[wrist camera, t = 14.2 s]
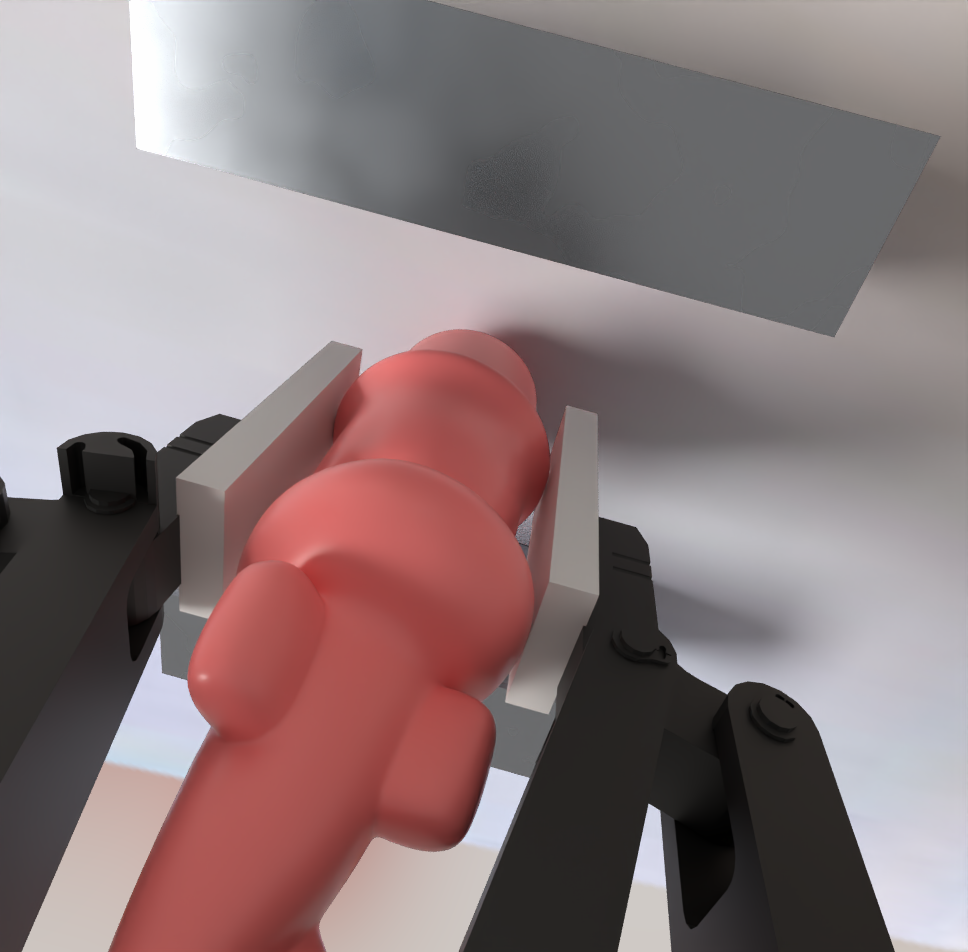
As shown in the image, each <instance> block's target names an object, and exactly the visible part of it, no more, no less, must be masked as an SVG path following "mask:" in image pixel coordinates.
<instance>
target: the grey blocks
mask: <svg viewBox="0 0 968 952" xmlns="http://www.w3.org/2000/svg"><path fill="white" fill-rule="evenodd" d="M129 6H130V27H131V47H132V68H133V88H134V109H135V129H136V148H137V149H141V150H145V151H148V152H152V153H156V154H159V155H163V156H167V157H171V158H174V159H178V160H182V161H185V162H189V163H193V164H196V165H200V166H204V167H207V168H211V169H215V170H219V171H222V172H226V173H230V174H233V175H237V176H241V177H244V178H248V179H252V180H255V181H259V182H263V183H267V184H270V185H274V186H278V187H281V188H285V189H289V190H292V191H296V192H300V193H303V194H307V195H311V196H314V197H318V198H322V199H326V200H329V201H333V202H337V203H340V204H344V205H348V206H351V207H355V208H359V209H362V210H366V211H370V212H374V213H377V214H381V215H385V216H388V217H392V218H396V219H399V220H403V221H407V222H410V223H414V224H418V225H421V226H425V227H429V228H433V229H436V230H440V231H444V232H447V233H451V234H455V235H458V236H462V237H466V238H469V239H473V240H477V241H481V242H484V243H488V244H492V245H495V246H499V247H503V248H506V249H510V250H514V251H517V252H521V253H525V254H529V255H532V256H536V257H540V258H543V259H547V260H551V261H554V262H558V263H562V264H565V265H569V266H573V267H576V268H580V269H584V270H588V271H591V272H595V273H599V274H602V275H606V276H610V277H613V278H617V279H621V280H624V281H628V282H632V283H636V284H639V285H643V286H647V287H650V288H654V289H658V290H661V291H665V292H669V293H672V294H676V295H680V296H683V297H687V298H691V299H695V300H698V301H702V302H706V303H709V304H713V305H717V306H720V307H724V308H728V309H731V310H735V311H739V312H743V313H746V314H750V315H754V316H757V317H761V318H765V319H768V320H772V321H776V322H779V323H783V324H787V325H791V326H794V327H798V328H802V329H805V330H809V331H813V332H816V333H820V334H824V335H827V336H831V337H835V335H836V333H837V331H838V329H839V327H840V325H841V323H842V322H843V320H844V318H845V316H846V314H847V312H848V310H849V308H850V306H851V305H852V303H853V301H854V299H855V297H856V295H857V293H858V291H859V289H860V288H861V286H862V284H863V282H864V280H865V278H866V276H867V274H868V273H869V271H870V269H871V267H872V265H873V263H874V261H875V259H876V257H877V256H878V254H879V252H880V250H881V248H882V246H883V244H884V242H885V240H886V239H887V237H888V235H889V233H890V231H891V229H892V227H893V225H894V223H895V222H896V220H897V218H898V216H899V214H900V212H901V210H902V208H903V206H904V205H905V203H906V201H907V199H908V197H909V195H910V193H911V191H912V190H913V188H914V186H915V184H916V182H917V180H918V178H919V176H920V174H921V173H922V171H923V169H924V167H925V165H926V163H927V161H928V159H929V157H930V156H931V154H932V152H933V150H934V148H935V146H936V144H937V142H938V140H939V139H940V137H941V136H937V135H934V134H930V133H926V132H922V131H919V130H915V129H911V128H907V127H903V126H900V125H896V124H892V123H888V122H885V121H881V120H877V119H873V118H869V117H866V116H862V115H858V114H854V113H851V112H847V111H843V110H839V109H836V108H832V107H828V106H824V105H820V104H817V103H813V102H809V101H805V100H802V99H798V98H794V97H790V96H786V95H783V94H779V93H775V92H771V91H768V90H764V89H760V88H756V87H752V86H749V85H745V84H741V83H737V82H734V81H730V80H726V79H722V78H718V77H715V76H711V75H707V74H703V73H700V72H696V71H692V70H688V69H685V68H681V67H677V66H673V65H669V64H666V63H662V62H658V61H654V60H651V59H647V58H643V57H639V56H635V55H632V54H628V53H624V52H620V51H617V50H613V49H609V48H605V47H601V46H598V45H594V44H590V43H586V42H583V41H579V40H575V39H571V38H568V37H564V36H560V35H556V34H552V33H549V32H545V31H541V30H537V29H534V28H530V27H526V26H522V25H518V24H515V23H511V22H507V21H503V20H500V19H496V18H492V17H488V16H484V15H481V14H477V13H473V12H469V11H466V10H462V9H458V8H454V7H451V6H447V5H443V4H439V3H435V2H432V1H428V0H129ZM519 545H520V546H521V548H522V550H523V553H524V555H525V557H526V560H527V555H528V549H529V546H526V545H522V544H519ZM207 620H208V619H207V618H203V617H200V616H196V615H193V614H189V613H186V612H182V611H180V610H179V587H178V588H177V589H176V590H175V591H174V592H173V594H172V595H171V596H170V597H169V598H168V599H167V601H166V602H165V603H164V621H163V627H162V629H161V631H160V639H161V660H162V673H164V674H167V675H171V676H174V677H178V678H181V679H185V680H187V675H188V667H189V663H190V659H191V656H192V653H193V650H194V647H195V645H196V643H197V640H198V638H199V636H200V634H201V632H202V630H203V628H204V626H205V624H206V622H207ZM508 680H509V674H508V676H507V677H506V678H505V680H504V681H503V682H502V683H501V684H500V685H499V686H498V688H497V689H496V690H495V691H494V692H493V693H492V694H490V695H489V696H488V697H487V698H486V699H485V700H484V701H482V703H483V704H484V705H485V706H486V707H487V708H488V709H489V710H490V712H491V713H492V715H493V718H494V721H495V725H496V742H495V748H494V753H493V758H492V762H491V765H490V767H494V768H497V769H501V770H504V771H508V772H511V773H515V774H518V775H522V776H525V777H529V778H530V776H531V774H532V771H533V769H534V766H535V764H536V763H535V762H536V760H537V758H538V755H539V753H540V751H541V749H542V746H543V744H544V742H545V739H546V737H547V735H548V732H549V730H550V728H551V726H552V723H553V721H554V719H555V713H556V698H557V696H556V698H555V700H554V703H553V705H552V707H551V710H550V712H549V715H548V714H545V713H541V712H537V711H534V710H530V709H527V708H523V707H520V706H516V705H513V704H509V703H505V700H506V693H507V687H508Z"/></svg>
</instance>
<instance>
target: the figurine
mask: <svg viewBox="0 0 968 952" xmlns="http://www.w3.org/2000/svg"><path fill="white" fill-rule="evenodd" d="M536 406H537V397H536V390H535V385H534V382H533V379H532V376H531V374H530V372H529V370H528V368H527V366H526V365H525V363H524V362H523V360H522V359H521V358H520V357H519V355H518V354H517V353H516V352H515V351H514V350H513V349H511V348H510V347H509V346H508V345H506V344H505V343H503V342H502V341H500V340H499V339H497V338H495V337H493V336H490V335H488V334H485V333H482V332H478V331H473V330H462V329H458V330H448V331H443V332H439V333H436V334H434V335H431V336H429V337H427V338H425V339H423V340H422V341H420V342H419V343H417V344H416V345H415V346H414V347H413V348H412V349H411V350H410V351H407V352H403V353H399V354H396V355H393V356H390V357H388V358H385V359H383V360H381V361H379V362H378V363H376V364H374V365H373V366H371V367H370V368H368V369H367V370H366V371H365V372H363V373H362V374H361V375H360V376H359V377H358V378H357V379H356V380H355V382H354V383H353V384H352V385H351V386H350V388H349V389H348V390H347V392H346V394H345V395H344V397H343V399H342V401H341V403H340V405H339V407H338V410H337V414H336V418H335V423H334V431H333V445H332V446H331V448H330V449H329V451H328V452H327V454H326V455H325V457H324V458H323V460H322V461H321V463H320V464H319V466H318V467H317V468H316V470H315V471H314V473H313V474H312V475H310V476H308V477H306V478H304V479H303V480H301V481H299V482H297V483H296V484H294V485H293V486H291V487H290V488H289V489H287V490H286V491H285V492H284V493H282V494H281V495H280V496H279V497H278V498H277V499H276V500H275V501H274V502H273V503H272V504H271V505H270V506H269V508H268V509H267V510H266V511H265V513H264V514H263V515H262V516H261V518H260V519H259V521H258V522H257V524H256V526H255V527H254V529H253V531H252V533H251V534H250V536H249V538H248V540H247V543H246V545H245V547H244V549H243V552H242V555H241V558H240V561H239V564H238V568H237V572H236V577H235V578H234V579H233V580H232V582H231V583H230V584H229V586H228V587H227V589H226V590H225V592H224V593H223V595H222V596H221V598H220V599H219V601H218V603H217V604H216V606H215V608H214V609H213V611H212V613H211V615H210V616H209V618H208V620H207V622H206V624H205V626H204V628H203V630H202V632H201V634H200V636H199V638H198V640H197V643H196V645H195V647H194V650H193V653H192V656H191V659H190V663H189V667H188V675H187V680H188V689H189V692H190V695H191V698H192V700H193V702H194V704H195V706H196V708H197V709H198V711H199V712H200V713H201V715H202V716H203V717H204V718H205V720H206V721H207V722H208V723H209V724H210V725H211V728H210V730H209V732H208V734H207V736H206V738H205V740H204V741H203V743H202V745H201V747H200V749H199V751H198V753H197V755H196V756H195V758H194V760H193V762H192V764H191V766H190V768H189V771H188V773H187V775H186V777H185V779H184V781H183V783H182V785H181V788H180V790H179V792H178V794H177V796H176V798H175V800H174V802H173V804H172V806H171V808H170V810H169V813H168V815H167V817H166V819H165V821H164V823H163V826H162V827H161V830H160V832H159V834H158V836H157V839H156V841H155V843H154V845H153V847H152V849H151V852H150V854H149V856H148V858H147V860H146V863H145V865H144V867H143V869H142V872H141V874H140V876H139V879H138V881H137V883H136V885H135V888H134V890H133V892H132V895H131V897H130V900H129V902H128V904H127V906H126V909H125V911H124V914H123V916H122V919H121V921H120V923H119V926H118V928H117V931H116V933H115V936H114V938H113V941H112V943H111V946H110V949H109V951H108V952H326V949H325V947H324V944H323V941H322V939H321V935H320V931H319V923H320V920H321V918H322V917H323V915H324V913H325V912H326V910H327V909H328V907H329V906H330V904H331V903H332V901H333V900H334V899H335V897H336V896H337V894H338V892H339V891H340V890H341V888H342V887H343V885H344V884H345V882H346V881H347V879H348V878H349V876H350V875H351V873H352V872H353V870H354V869H355V867H356V865H357V864H358V862H359V860H360V859H361V857H362V856H363V854H364V852H365V850H366V849H367V847H368V845H369V844H370V842H371V841H372V839H374V838H375V837H380V838H383V839H386V840H388V841H391V842H393V843H396V844H399V845H402V846H405V847H408V848H412V849H416V850H421V851H431V852H437V851H445V850H448V849H451V848H453V847H455V846H456V845H457V844H459V843H460V842H461V841H462V839H463V838H464V837H465V835H466V834H467V832H468V830H469V828H470V826H471V824H472V822H473V819H474V817H475V814H476V812H477V809H478V806H479V803H480V800H481V797H482V794H483V791H484V787H485V784H486V780H487V777H488V773H489V769H490V765H491V762H492V758H493V753H494V748H495V742H496V725H495V721H494V718H493V715H492V713H491V712H490V710H489V709H488V708H487V707H486V706H485V705H484V704H483V703H482V701H484V700H485V699H486V698H487V697H488V696H489V695H490V694H492V693H493V692H494V691H495V690H496V689H497V688H498V686H499V685H500V684H501V683H502V682H503V681H504V680H505V678H506V677H507V676H508V674H509V673H510V672H511V670H512V669H513V667H514V666H515V664H516V662H517V661H518V659H519V657H520V655H521V653H522V651H523V649H524V647H525V644H526V642H527V639H528V636H529V633H530V629H531V625H532V620H533V613H534V587H533V580H532V576H531V572H530V568H529V565H528V562H527V560H526V557H525V555H524V553H523V550H522V548H521V546H520V545H519V543H518V541H517V539H516V538H515V535H516V532H517V529H518V526H519V525H520V524H521V523H523V522H524V521H525V520H526V519H527V518H528V516H529V515H530V514H531V513H532V512H533V510H534V509H535V508H536V506H537V505H538V503H539V501H540V499H541V497H542V495H543V493H544V490H545V488H546V484H547V481H548V477H549V471H550V451H549V444H548V439H547V435H546V431H545V428H544V426H543V423H542V421H541V419H540V417H539V415H538V413H537V411H536Z"/></svg>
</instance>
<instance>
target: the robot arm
mask: <svg viewBox="0 0 968 952" xmlns="http://www.w3.org/2000/svg"><path fill="white" fill-rule="evenodd" d="M361 356H362V349H360V348H356V347H352V346H349V345H345V344H341V343H338V342H334V341H331V342H330V343H328V344H327V345H326V346H325V347H324V348H323V349H322V350H321V351H319V352H318V353H317V354H316V355H315V356H314V357H313V358H311V359H310V360H309V361H308V362H307V363H306V364H305V365H303V366H302V367H301V368H300V369H299V370H298V371H297V372H295V373H294V374H293V375H292V376H291V377H290V378H289V379H288V380H286V381H285V382H284V383H283V384H282V385H281V386H280V387H278V388H277V389H276V390H275V391H274V392H273V393H272V394H270V395H269V396H268V397H267V398H266V399H265V400H264V401H263V402H261V403H260V404H259V405H258V406H257V407H256V408H255V409H253V410H252V411H251V412H250V413H249V414H248V415H247V416H245V417H244V418H243V419H242V420H240V419H236V418H232V417H229V416H225V415H221V414H218V415H215V416H212V417H209V418H206V419H203V420H200V421H197V422H195V423H194V424H193V425H192V426H190V427H189V428H188V429H186V430H185V431H184V432H183V433H181V434H180V437H176V438H175V439H174V440H172V441H171V442H170V443H169V444H167V447H163V448H162V449H161V450H160V451H158V452H157V451H156V450H155V448H154V447H153V445H152V443H150V442H148V441H147V440H145V439H143V438H141V437H139V436H135V435H131V434H127V433H121V432H98V433H91V434H84V435H81V436H78V437H75V438H72V439H69V440H67V441H66V442H65V443H63V444H62V445H60V446H59V447H57V453H58V460H59V467H60V474H61V482H62V489H63V495H62V497H61V498H60V499H59V500H42V499H27V498H11V497H7V493H6V488H5V483H4V481H3V480H2V479H1V477H0V952H22V949H23V947H24V945H25V942H26V940H27V938H28V936H29V933H30V931H31V929H32V926H33V924H34V922H35V919H36V917H37V915H38V912H39V910H40V908H41V906H42V903H43V901H44V899H45V896H46V894H47V892H48V890H49V887H50V885H51V883H52V880H53V878H54V876H55V873H56V871H57V869H58V866H59V864H60V862H61V860H62V857H63V855H64V852H65V850H66V848H67V846H68V843H69V841H70V839H71V836H72V834H73V832H74V830H75V827H76V825H77V823H78V820H79V818H80V816H81V813H82V811H83V809H84V807H85V804H86V802H87V800H88V797H89V795H90V793H91V790H92V788H93V786H94V783H95V781H96V779H97V777H98V774H99V772H100V770H101V767H102V765H103V763H104V760H105V758H106V756H107V754H108V751H109V749H110V747H111V744H112V742H113V740H114V737H115V735H116V733H117V731H118V728H119V726H120V724H121V721H122V719H123V717H124V714H125V712H126V710H127V708H128V705H129V703H130V701H131V698H132V696H133V694H134V691H135V689H136V687H137V684H138V682H139V680H140V678H141V675H142V673H143V671H144V668H145V666H146V664H147V661H148V659H149V657H150V655H151V652H152V650H153V648H154V645H155V643H156V641H157V638H158V636H159V634H160V631H161V629H162V627H163V621H164V603H165V602H166V601H167V599H168V598H169V597H170V596H171V595H172V594H173V592H174V591H175V590H176V589H177V588H178V587H179V610H180V611H182V612H186V613H189V614H193V615H196V616H200V617H203V618H207V619H208V618H209V616H210V615H211V613H212V611H213V609H214V608H215V606H216V604H217V603H218V601H219V599H220V598H221V596H222V595H223V593H224V592H225V590H226V589H227V587H228V586H229V584H230V583H231V582H232V580H233V579H234V578H235V577H236V572H237V568H238V564H239V561H240V558H241V555H242V552H243V549H244V547H245V545H246V543H247V540H248V538H249V536H250V534H251V533H252V531H253V529H254V527H255V526H256V524H257V522H258V521H259V519H260V518H261V516H262V515H263V514H264V513H265V511H266V510H267V509H268V508H269V506H270V505H271V504H272V503H273V502H274V501H275V500H276V499H277V498H278V497H279V496H280V495H281V494H282V493H284V492H285V491H286V490H287V489H289V488H290V487H291V486H293V485H294V484H296V483H297V482H299V481H301V480H303V479H304V478H306V477H308V476H310V475H312V474H313V473H314V471H315V470H316V468H317V467H318V466H319V464H320V463H321V461H322V460H323V458H324V457H325V455H326V454H327V452H328V451H329V449H330V448H331V446H332V445H333V431H334V423H335V418H336V414H337V410H338V407H339V405H340V403H341V401H342V399H343V397H344V395H345V394H346V392H347V390H348V389H349V388H350V386H351V385H352V384H353V383H354V382H355V380H356V379H357V378H358V377H359V371H360V363H361ZM527 562H528V565H529V568H530V572H531V576H532V580H533V587H534V613H533V620H532V625H531V629H530V633H529V636H528V639H527V642H526V644H525V647H524V649H523V651H522V653H521V655H520V657H519V659H518V661H517V662H516V664H515V666H514V667H513V669H512V670H511V672H510V673H509V680H508V687H507V693H506V700H505V703H509V704H513V705H516V706H520V707H523V708H527V709H530V710H534V711H537V712H541V713H545V714H548V715H549V712H550V710H551V707H552V705H553V703H554V700H555V698H556V696H557V698H556V713H555V719H554V721H553V723H552V726H551V728H550V730H549V732H548V735H547V737H546V739H545V742H544V744H543V746H542V749H541V751H540V753H539V755H538V758H537V760H536V762H535V763H536V764H535V766H534V769H533V771H532V774H531V776H530V779H529V781H528V784H527V786H526V788H525V791H524V793H523V796H522V798H521V801H520V803H519V806H518V808H517V810H516V813H515V815H514V818H513V820H512V823H511V825H510V827H509V830H508V832H507V835H506V837H505V840H504V842H503V845H502V847H501V849H500V852H499V854H498V857H497V859H496V862H495V864H494V867H493V869H492V872H491V874H490V876H489V879H488V881H487V884H486V886H485V889H484V891H483V893H482V896H481V898H480V901H479V903H478V906H477V908H476V911H475V913H474V916H473V918H472V920H471V923H470V925H469V928H468V930H467V932H466V935H465V937H464V940H463V942H462V945H461V947H460V950H459V952H617V951H618V946H619V942H620V937H621V932H622V927H623V923H624V918H625V913H626V908H627V903H628V898H629V894H630V889H631V884H632V880H633V875H634V870H635V865H636V860H637V856H638V851H639V846H640V841H641V837H642V832H643V827H644V822H645V818H646V813H647V808H648V803H649V804H651V805H652V806H654V807H656V808H657V809H659V810H660V813H661V825H662V838H663V850H664V863H665V875H666V888H667V899H668V913H669V924H670V925H669V926H670V938H671V951H672V952H895V951H894V948H893V945H892V942H891V939H890V936H889V933H888V931H887V928H886V925H885V922H884V919H883V916H882V913H881V910H880V907H879V904H878V902H877V899H876V896H875V893H874V890H873V887H872V884H871V881H870V878H869V876H868V873H867V870H866V867H865V864H864V861H863V858H862V855H861V852H860V849H859V847H858V844H857V841H856V838H855V835H854V832H853V829H852V826H851V823H850V820H849V818H848V815H847V812H846V809H845V806H844V803H843V800H842V797H841V794H840V792H839V789H838V786H837V783H836V780H835V777H834V774H833V771H832V768H831V765H830V763H829V760H828V757H827V754H826V751H825V748H824V745H823V742H822V739H821V736H820V734H819V731H818V730H817V728H816V726H815V724H814V722H813V720H812V718H811V717H810V716H809V715H808V714H807V712H806V711H805V710H804V709H803V708H802V707H801V706H800V705H799V704H798V703H797V702H796V701H794V700H793V699H792V698H790V697H789V696H787V695H786V694H784V693H783V692H782V691H780V690H777V689H775V688H773V687H770V686H768V685H766V684H763V683H756V682H748V681H747V682H744V683H740V684H736V685H735V686H734V687H733V688H732V690H731V691H730V692H729V693H728V695H727V694H725V693H723V692H721V691H720V690H718V689H716V688H714V687H712V686H710V685H708V684H707V683H705V682H703V681H701V680H699V679H697V678H696V677H694V676H693V675H691V674H690V673H688V672H686V671H685V670H684V669H683V668H682V667H681V666H679V665H678V664H677V654H676V652H675V650H674V648H673V646H672V644H671V642H670V641H669V639H667V638H666V637H665V636H664V635H663V634H662V633H661V632H660V631H659V630H658V622H657V614H656V606H655V598H654V589H653V581H652V580H651V578H652V573H651V566H650V556H649V548H648V544H647V543H646V541H645V540H644V538H643V537H642V535H641V534H640V532H639V531H638V529H637V528H636V527H633V526H630V525H626V524H622V523H619V522H615V521H612V520H608V519H604V518H601V517H599V516H598V414H597V413H593V412H590V411H586V410H582V409H579V408H575V407H571V406H568V405H566V408H565V411H564V414H563V418H562V421H561V424H560V427H559V430H558V433H557V436H556V439H555V442H554V445H553V448H552V452H551V455H550V471H549V477H548V481H547V484H546V488H545V490H544V493H543V495H542V497H541V499H540V501H539V503H538V505H537V506H536V508H535V509H534V516H533V522H532V529H531V535H530V542H529V549H528V555H527Z"/></svg>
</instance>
